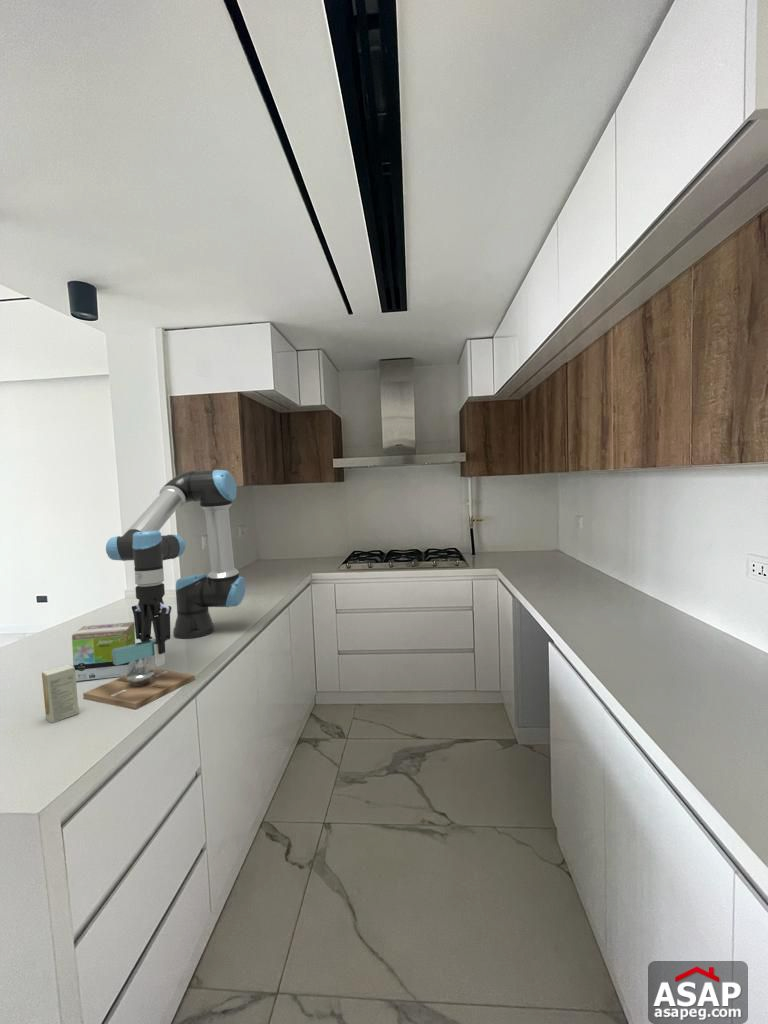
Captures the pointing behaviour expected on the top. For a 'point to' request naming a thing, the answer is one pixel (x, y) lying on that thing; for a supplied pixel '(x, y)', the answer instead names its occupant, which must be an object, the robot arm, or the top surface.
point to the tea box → (101, 650)
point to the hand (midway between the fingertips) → (154, 663)
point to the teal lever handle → (136, 659)
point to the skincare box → (60, 693)
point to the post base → (138, 689)
